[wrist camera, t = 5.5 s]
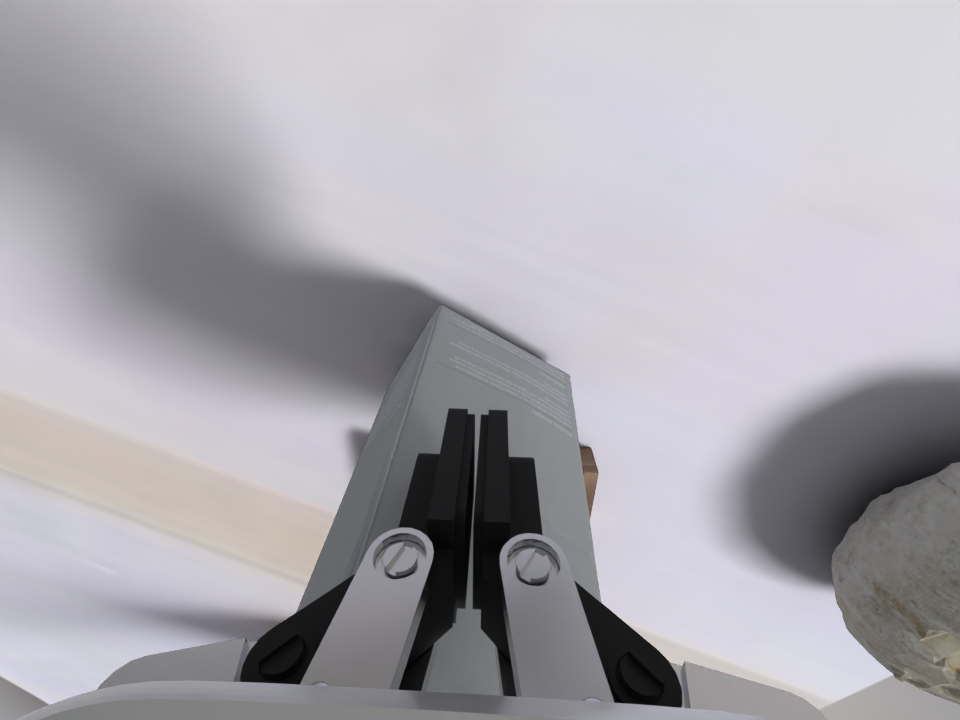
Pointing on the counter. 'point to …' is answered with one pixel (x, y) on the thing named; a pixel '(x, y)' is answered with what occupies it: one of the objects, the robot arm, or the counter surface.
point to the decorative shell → (907, 582)
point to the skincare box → (531, 433)
